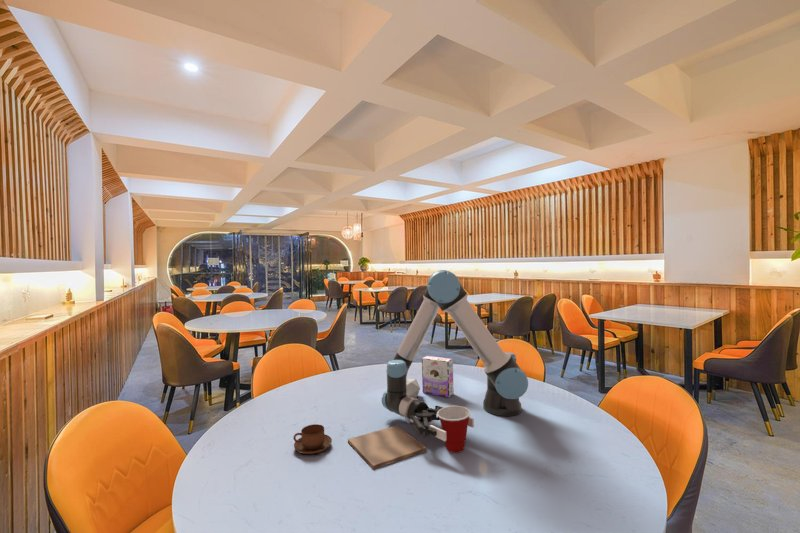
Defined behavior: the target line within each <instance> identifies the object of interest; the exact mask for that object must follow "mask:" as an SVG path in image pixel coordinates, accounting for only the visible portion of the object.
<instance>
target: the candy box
mask: <svg viewBox="0 0 800 533" xmlns="http://www.w3.org/2000/svg"><path fill="white" fill-rule="evenodd" d="M421 375H422V376H421V378H422V383H421V384H422V393H423V394H424V393H425V394H428V395H434V396H440V397H446V398H450V397H452V396H453V395H454V394H455V393H454V392H455V391H454V389H455V388H454V359H453V358H450V357H449V358H448V357H441V356H432V355H426V356H423V357H422V358H421Z"/></svg>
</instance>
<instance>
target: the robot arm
mask: <svg viewBox="0 0 800 533" xmlns="http://www.w3.org/2000/svg"><path fill="white" fill-rule="evenodd" d="M426 284H427V285H426V289H425V291H424V293H423V295H422V298H423V301H422V303H421V305H419V306H420V307H419V308H418V310H417V311H416V314H415V316H414V318H413V320H412V322H411V324H410V326H409V327H408V330H407V331H406V334H405V336H404V338H403V340H402V341H401V344H400V346H399V348H398V349H397V351H396V353H395V356H394V357H393V359H391V360H389V361H388V362H387V364H386V370H385V371H386V387H387V388H386V390H385V391H384V392H383V394H382V397H381V404H382V406H383V408H385V409H386V410H388V411H389V412H391V413H395V414H396V415H399V416H401V417H404V418H405V419H407V420H409V424H411V425H412V426H413V427H414V428H415V430H416V432H417V433H418V434H419V436H423V435H424V436H425V437H429V435H430V436H432V437H434V438H436V439H439V440H441V441H443V442H445V441H446V431H444V430H442V428H440V427H437V426H435V425H432V424H429V423H431V422H433V421H440V419H439V417H438V416H437V412H438V411H439V410H440V409H441V408H444V407H445V406H439V405H435V406H434V408H431V407H429V405H428V404H427V403H426V402H425V401H424V400H420V399H418V398H412V397H410V396H408V395H407V388H406V379H408V377H407V376H408V371H409V370H410V367H411V366H412V364H413V361H414V360H415V357H416V356H417V354H418V352H419V350H420V347H421V346H422V344H423V342H424V339H425V338H426V336H427V334H428V332H429V330H430V328H431V327H432V325H433V322H434V321H435V319H436V317H437V315H438V312H439V310H441V312H444V313H448V315H449V317H450V318H451V319H452V320H453V322H454V323H455V325H456V327H457V328H458V329H459V330H460V332H461V333H462V334H463V336H464V338H465V339H466V340H467V341H468V344H470V346H471V347H472V349H473V350H474V352H475V353H476V354H477V356H478V357H479V360H481V362H482V363H483V365H484V368H483V371H484V373H485V374H486V384H487V387H486V392H485V395H484V399H483V401H482V405H483V410H484V411H485V412H486V413H489V414H492V415H495V416H500V417H501V416H502V417H512V416H513V417H514V416H517V415H519V414H521V413H522V403H521V402H520V398H522V397H523V396H524V395H525V394H526V392H527V390H528V387H529V380H528V376H527V374H526V373H525V371H523V369H521V367H520V365H518V363H517V355H516V354H515V353H513V352H508V351H507V352H504V351H503V349H502V347H501V346H500V345H499V344H498V342H497V340H496V339H495V337H494V335H492V333H491V332H490V330H489V329H488V328H487V327H486V325H485V323H484V322H483V320H482V319H481V318H480V317H479V315H478V313H477V312H476V311H475V309H474V308H473V306H472V305H471V303H470V302H469V301H468V292H467V291H466V290H465V288H464V287H463V285H462V284H461V282H460V279H459V278H458V277H457V275H455V273H454V272H452V271H451V270H450V271H449V270H448V269H447V270H446V269H443V270H442V269H440V270H436V271H435V272H433V273H432V274H431V275H430V276H429V278H428V280H427V283H426ZM468 427H470V428H475V419H474V418H473V417H471V416H469V420H468Z"/></svg>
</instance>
